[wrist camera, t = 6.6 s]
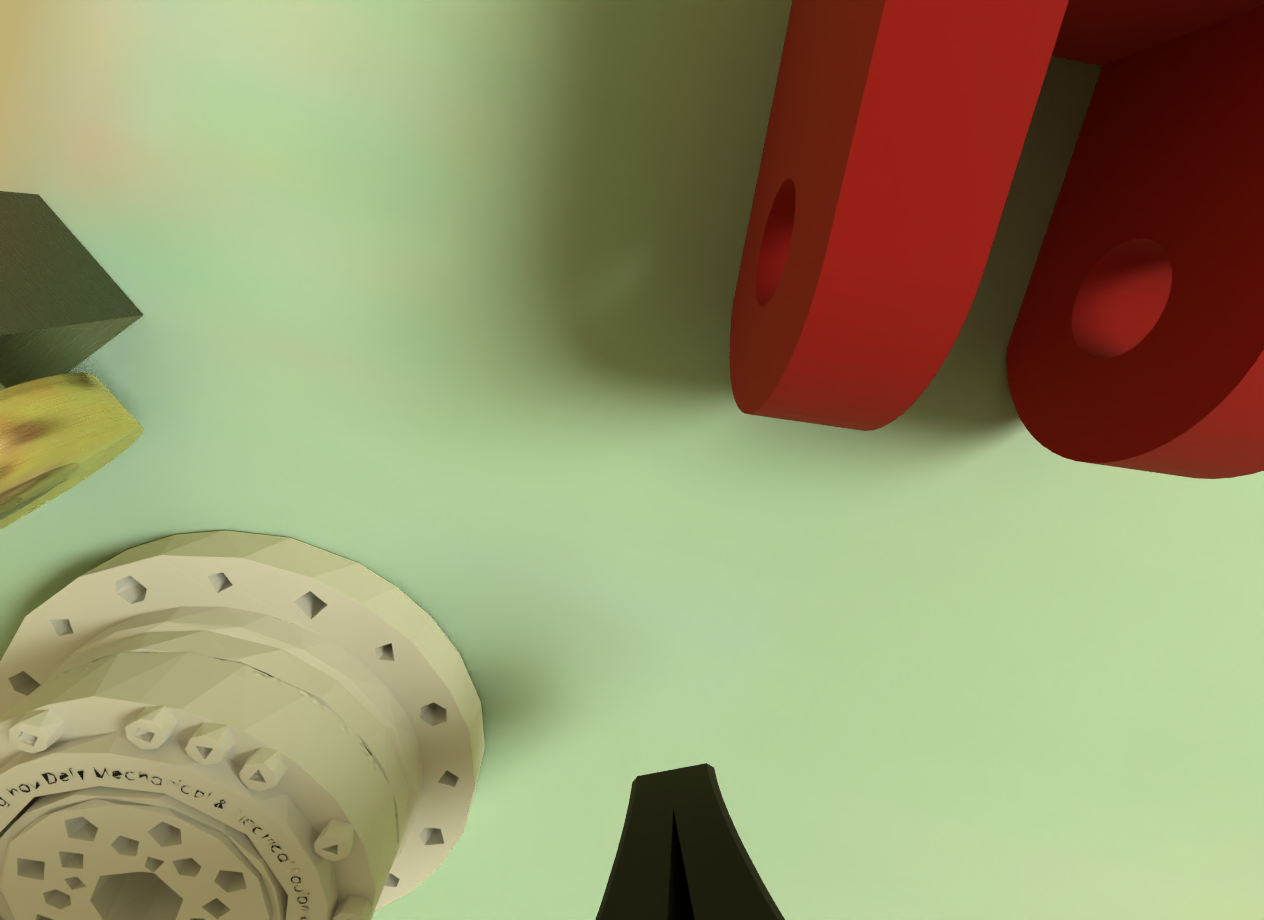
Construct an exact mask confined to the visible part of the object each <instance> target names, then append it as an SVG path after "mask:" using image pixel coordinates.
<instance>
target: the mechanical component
mask: <svg viewBox="0 0 1264 920" xmlns="http://www.w3.org/2000/svg"><path fill="white" fill-rule="evenodd" d="M484 749H485V741H484V730H483V719H482V707H481V701H480V699H479V697H478V694H477V692H476V690H475V688H474V685H473V683H472V681H471V678H470V676H469V674H468V672H467V669H466V667H465V665H464V662H463V660H462V658H461V656H460V654H459V652H458V651H457V650H456V648H455V647H454V646H453V644H452V643H451V642H450V641H449V639H448V638H447V637H446V635H445V634H444V633H443V632H442V630H441V629H440V628H439V626H438V625H437V624H436V623H435V621H434V620H433V619H432V617H431V616H430V615H428V614H427V613H426V612H425V611H424V610H423V609H422V608H420V607H419V606H418V605H417V604H416V603H415V602H413V601H412V600H411V599H410V598H409V597H408V596H407V595H405V594H404V593H403V592H402V591H401V590H400V589H398V588H397V587H396V586H394V585H393V584H391V583H390V582H388V581H386V580H385V579H383V578H382V577H380V576H378V575H377V574H375V573H374V572H372V571H371V570H369V569H367V568H366V567H364V566H363V565H361V564H359V563H357V562H355V561H352V560H349V559H347V558H344V557H341V556H338V555H336V554H333V553H330V552H328V551H325V550H322V549H320V548H317V547H314V546H312V545H309V544H306V543H303V542H301V541H298V540H295V539H293V538H289V537H280V536H271V535H262V534H253V533H244V532H235V531H226V530H224V531H212V532H200V533H189V534H177V535H173V536H169V537H166V538H163V539H159V540H156V541H153V542H149V543H146V544H143V545H139V546H136V547H133V548H130V549H128V550H126V551H124V552H122V553H121V554H119V555H117V556H115V557H114V558H112V559H110V560H108V561H106V562H105V563H103V564H101V565H99V566H98V567H96V568H94V569H92V570H90V571H89V572H87V573H85V574H83V575H82V576H80V577H78V578H77V579H75V580H74V581H73V582H71V583H70V584H69V585H67V586H66V587H65V588H63V589H62V590H61V591H59V592H58V593H57V594H55V595H54V596H52V597H51V598H50V599H48V600H47V601H46V602H44V603H43V604H42V605H40V606H39V607H38V608H36V609H35V610H33V611H32V612H31V613H29V614H28V615H27V616H25V618H24V620H23V622H22V624H21V625H20V627H19V629H18V631H17V632H16V634H15V636H14V638H13V640H12V641H11V643H10V645H9V647H8V649H7V650H6V652H5V654H4V656H3V657H2V659H1V661H0V920H371V919H372V916H373V914H374V912H375V911H377V910H379V909H380V908H382V907H384V906H386V905H388V904H390V903H392V902H394V901H395V900H397V899H399V898H401V897H403V896H405V895H407V894H409V893H410V892H411V891H413V890H414V889H415V888H416V887H417V886H418V885H420V884H421V883H422V882H423V881H424V880H425V879H427V878H428V877H429V876H430V875H431V874H432V873H434V872H435V871H436V870H437V869H438V868H439V867H440V865H441V864H442V862H443V861H444V859H445V858H446V856H447V855H448V854H449V852H450V851H451V849H452V848H453V846H454V845H455V843H456V842H457V840H458V839H459V838H460V836H461V835H462V833H463V832H464V828H465V825H466V821H467V818H468V814H469V811H470V807H471V804H472V800H473V796H474V793H475V789H476V785H477V781H478V776H479V772H480V767H481V763H482V758H483V754H484Z"/></svg>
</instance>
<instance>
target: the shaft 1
mask: <svg viewBox="0 0 1264 920" xmlns="http://www.w3.org/2000/svg"><path fill="white" fill-rule="evenodd" d="M141 316H143V314H142V313H141V312H140V310H139V309H138V308H137V307H136V306H135V305H134V304H133V302H132V301H131V300H130V299H129V298H128V297H127V296H126V294H125V293H124V292H123V291H122V290H121V289H120V288H119V286H118V285H117V284H116V283H115V282H114V281H113V280H112V278H111V277H110V276H109V275H108V274H107V273H106V272H105V270H104V269H103V268H102V267H101V266H100V265H99V264H98V262H97V261H96V260H95V259H94V258H93V257H92V255H91V254H90V253H89V252H88V251H87V250H86V249H85V247H84V246H83V245H82V244H81V243H80V242H79V241H78V239H77V238H76V237H75V236H74V235H73V234H72V233H71V231H70V230H69V229H68V228H67V227H66V226H65V225H64V223H63V222H62V221H61V220H60V219H59V218H58V217H57V215H56V214H55V213H54V212H53V211H52V210H51V209H50V207H49V206H48V205H47V204H46V203H45V202H44V201H43V199H42V198H41V197H40V196H39V195H37V194H26V193H15V192H4V191H0V529H2V528H4V527H6V526H7V525H9V524H11V523H13V522H14V521H16V520H18V519H20V518H21V517H23V516H25V515H27V514H28V513H30V512H32V511H34V510H35V509H37V508H39V507H40V506H42V505H44V504H45V503H47V502H49V501H50V500H52V499H54V498H55V497H57V496H59V495H60V494H62V493H63V492H65V491H67V490H68V489H70V488H71V487H73V486H75V485H76V484H78V483H79V482H81V481H82V480H84V479H85V478H87V477H88V476H90V475H91V474H93V473H94V472H96V471H97V470H99V469H100V468H102V467H103V466H105V465H106V464H107V463H109V462H110V461H111V460H113V459H114V458H115V457H117V456H118V455H119V454H121V453H122V452H123V451H124V450H126V449H127V448H128V447H129V446H130V445H131V444H133V443H134V442H135V441H136V440H137V439H138V438H139V436H140V435H141V434H142V432H143V427H142V426H141V425H140V424H139V423H138V422H137V421H136V419H135V418H134V417H133V416H132V415H131V414H130V413H129V412H128V411H127V410H126V409H125V408H124V406H123V405H122V404H121V403H120V402H119V401H118V400H117V399H116V398H115V397H114V396H113V395H112V394H111V392H110V391H109V390H108V389H107V388H106V387H105V386H104V385H103V384H102V383H101V382H100V381H99V380H98V378H97V377H96V376H94V375H92V374H88V373H69V374H66V373H68V372H69V371H70V370H71V369H73V368H74V367H75V366H77V365H78V364H79V363H81V362H82V361H83V360H85V359H86V358H87V357H89V356H90V355H91V354H93V353H94V352H95V351H97V350H98V349H99V348H100V347H102V346H103V345H104V344H106V343H107V342H108V341H110V340H111V339H112V338H114V337H115V336H116V335H118V334H119V333H120V332H122V331H123V330H124V329H126V328H127V327H128V326H129V325H131V324H132V323H133V322H135V321H136V320H137V319H139V318H140V317H141Z"/></svg>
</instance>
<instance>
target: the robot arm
mask: <svg viewBox="0 0 1264 920" xmlns="http://www.w3.org/2000/svg"><path fill="white" fill-rule="evenodd" d="M596 920H785V919H784V917H783V916H782V914H781V912H780V911H779V909H778V907H777V906H776V904H775V902H774V901H773V899H772V897H771V896H770V894H769V892H768V890H767V889H766V887H765V885H764V883H763V881H762V880H761V878H760V876H759V874H758V872H757V870H756V868H755V866H754V864H753V863H752V861H751V859H750V857H749V855H748V853H747V851H746V849H745V847H744V845H743V843H742V841H741V839H740V837H739V835H738V833H737V831H736V829H735V826H734V824H733V822H732V820H731V817H730V815H729V813H728V810H727V808H726V805H725V803H724V800H723V798H722V795H721V792H720V789H719V786H718V782H717V779H716V774H715V770H714V767H712V766H710V765H709V764H707V763H706V764H700V765H695V766H690V767H684V768H679V769H674V770H668V771H663V772H657V773H652V774H647V775H641V776H637V777H636V779H635V780H634V781H633V782H632V788H631V795H630V800H629V805H628V810H627V814H626V819H625V823H624V827H623V831H622V835H621V839H620V842H619V846H618V850H617V854H616V857H615V860H614V864H613V867H612V870H611V873H610V877H609V880H608V883H607V887H606V890H605V893H604V896H603V899H602V902H601V905H600V908H599V911H598V914H597V917H596Z"/></svg>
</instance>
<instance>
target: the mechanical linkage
mask: <svg viewBox="0 0 1264 920" xmlns="http://www.w3.org/2000/svg"><path fill="white" fill-rule="evenodd" d="M1051 56H1054V57H1060V58H1065V59H1070V60H1076V61H1081V62H1086V63H1092V64H1097V65H1102V68H1101V71H1100V74H1099V77H1098V80H1097V83H1096V86H1095V89H1094V92H1093V95H1092V98H1091V101H1090V104H1089V107H1088V109H1087V112H1086V115H1085V118H1084V121H1083V124H1082V127H1081V130H1080V133H1079V136H1078V139H1077V142H1076V145H1075V148H1074V151H1073V154H1072V157H1071V160H1070V163H1069V166H1068V169H1067V172H1066V175H1065V178H1064V181H1063V183H1062V186H1061V189H1060V192H1059V195H1058V198H1057V201H1056V204H1055V207H1054V210H1053V213H1052V216H1051V219H1050V222H1049V225H1048V228H1047V231H1046V234H1045V237H1044V240H1043V243H1042V246H1041V249H1040V252H1039V254H1038V257H1037V260H1036V263H1035V266H1034V269H1033V272H1032V275H1031V278H1030V281H1029V284H1028V287H1027V290H1026V293H1025V296H1024V299H1023V302H1022V305H1021V308H1020V311H1019V314H1018V317H1017V320H1016V323H1015V325H1014V328H1013V331H1012V334H1011V337H1010V340H1009V343H1008V346H1007V358H1006V361H1007V376H1008V383H1009V388H1010V392H1011V396H1012V400H1013V403H1014V405H1015V408H1016V411H1017V413H1018V415H1019V417H1020V419H1021V421H1022V422H1023V424H1024V425H1025V427H1026V428H1027V430H1028V431H1029V432H1030V433H1031V435H1032V436H1033V437H1034V438H1035V439H1036V440H1037V441H1038V442H1039V443H1041V444H1042V445H1043V446H1044V447H1046V448H1047V449H1049V450H1050V451H1052V452H1053V453H1056V454H1058V455H1060V456H1062V457H1064V458H1068V459H1071V460H1074V461H1080V462H1087V463H1094V464H1101V465H1108V466H1114V467H1121V468H1128V469H1135V470H1142V471H1149V472H1156V473H1163V474H1170V475H1177V476H1184V477H1191V478H1204V479H1218V478H1231V477H1237V476H1243V475H1249V474H1253V473H1257V472H1260V471H1264V0H793V2H792V7H791V12H790V17H789V22H788V27H787V32H786V37H785V43H784V48H783V53H782V58H781V63H780V68H779V73H778V78H777V83H776V88H775V93H774V98H773V104H772V109H771V114H770V119H769V124H768V129H767V134H766V139H765V144H764V149H763V154H762V159H761V165H760V170H759V175H758V180H757V185H756V190H755V195H754V200H753V205H752V210H751V215H750V220H749V226H748V231H747V236H746V241H745V246H744V251H743V256H742V261H741V266H740V271H739V276H738V282H737V287H736V292H735V297H734V302H733V309H732V319H731V333H730V375H731V384H732V390H733V395H734V398H735V401H736V404H737V406H738V407H739V409H740V410H741V411H742V412H743V413H745V414H752V415H759V416H766V417H773V418H780V419H787V420H793V421H800V422H807V423H814V424H821V425H828V426H835V427H842V428H849V429H856V430H863V431H868V430H875V429H878V428H881V427H883V426H885V425H887V424H889V423H891V422H892V421H894V420H895V419H896V418H898V417H899V416H900V415H902V414H903V413H904V412H905V411H906V410H907V409H908V408H909V407H910V406H911V405H912V404H913V403H914V402H915V401H916V400H917V398H918V397H919V396H920V395H921V394H922V393H923V391H924V390H925V389H926V387H927V386H928V385H929V383H930V382H931V381H932V379H933V378H934V376H935V375H936V373H937V372H938V370H939V368H940V367H941V365H942V364H943V362H944V360H945V359H946V357H947V355H948V353H949V352H950V350H951V348H952V346H953V344H954V342H955V340H956V339H957V336H958V334H959V332H960V330H961V328H962V326H963V324H964V322H965V319H966V317H967V315H968V312H969V310H970V307H971V305H972V302H973V300H974V298H975V295H976V292H977V290H978V287H979V284H980V281H981V278H982V275H983V272H984V269H985V266H986V263H987V260H988V256H989V253H990V250H991V247H992V244H993V240H994V237H995V234H996V231H997V228H998V225H999V221H1000V218H1001V215H1002V212H1003V209H1004V205H1005V202H1006V199H1007V196H1008V193H1009V189H1010V186H1011V183H1012V180H1013V177H1014V174H1015V170H1016V167H1017V164H1018V161H1019V158H1020V154H1021V151H1022V148H1023V145H1024V142H1025V138H1026V135H1027V132H1028V129H1029V126H1030V122H1031V119H1032V116H1033V113H1034V110H1035V107H1036V103H1037V100H1038V97H1039V94H1040V91H1041V87H1042V84H1043V81H1044V78H1045V75H1046V71H1047V68H1048V65H1049V62H1050V59H1051Z"/></svg>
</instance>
